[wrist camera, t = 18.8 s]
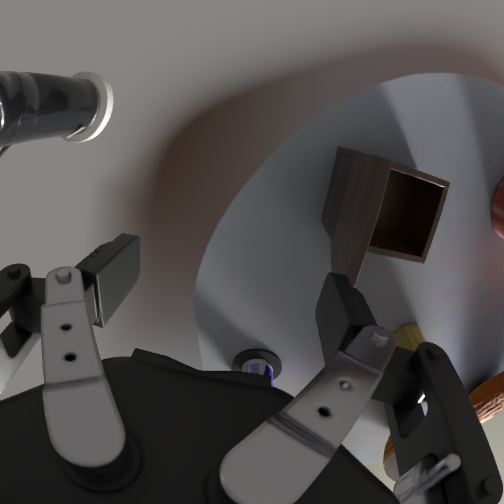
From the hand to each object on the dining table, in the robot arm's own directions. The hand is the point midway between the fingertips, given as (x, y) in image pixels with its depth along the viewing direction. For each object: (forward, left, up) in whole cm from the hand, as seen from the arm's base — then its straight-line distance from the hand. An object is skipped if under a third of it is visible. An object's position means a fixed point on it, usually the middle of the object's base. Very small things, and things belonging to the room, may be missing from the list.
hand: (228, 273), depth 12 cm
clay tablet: (+72, -41, -28) cm, 88 cm away
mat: (+6, -33, -28) cm, 44 cm away
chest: (+16, +1, -28) cm, 32 cm away
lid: (+9, +1, -12) cm, 15 cm away
